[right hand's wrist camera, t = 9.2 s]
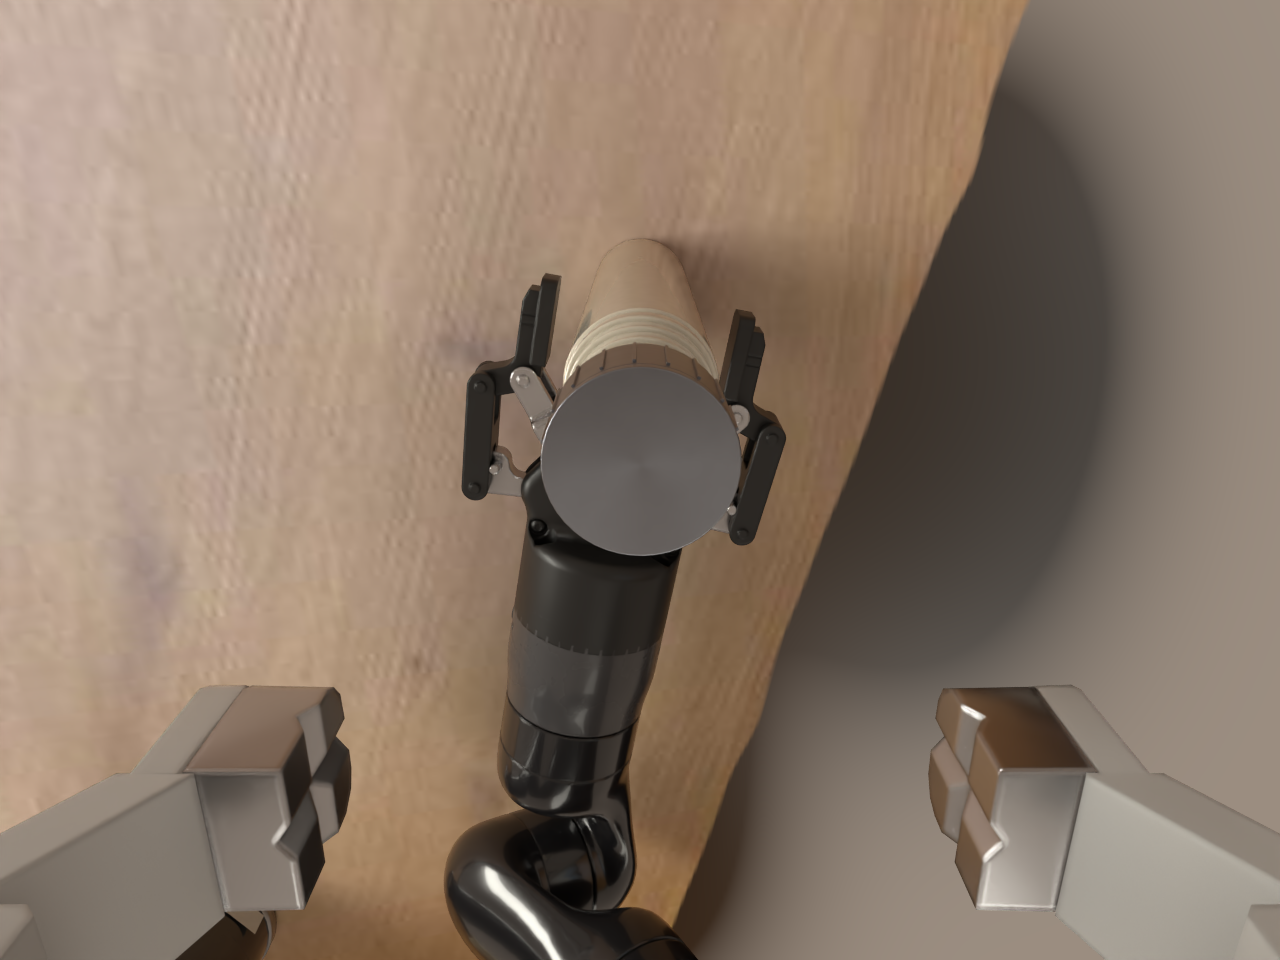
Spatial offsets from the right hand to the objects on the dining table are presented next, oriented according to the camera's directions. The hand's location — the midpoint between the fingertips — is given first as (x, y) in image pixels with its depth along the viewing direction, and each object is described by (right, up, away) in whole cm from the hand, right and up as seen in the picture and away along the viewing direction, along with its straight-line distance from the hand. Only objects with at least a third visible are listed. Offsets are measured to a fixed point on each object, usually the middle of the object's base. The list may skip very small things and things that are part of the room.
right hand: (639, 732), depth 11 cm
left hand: (0, +11, +28) cm, 30 cm away
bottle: (0, +13, +34) cm, 36 cm away
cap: (0, +3, +9) cm, 10 cm away
